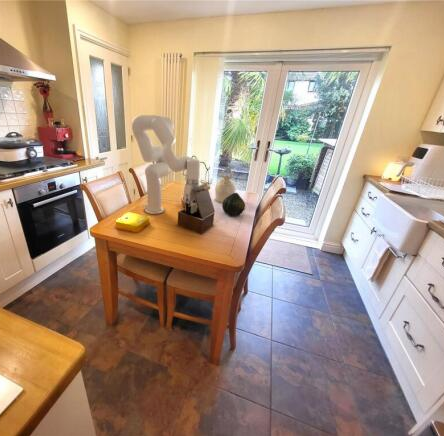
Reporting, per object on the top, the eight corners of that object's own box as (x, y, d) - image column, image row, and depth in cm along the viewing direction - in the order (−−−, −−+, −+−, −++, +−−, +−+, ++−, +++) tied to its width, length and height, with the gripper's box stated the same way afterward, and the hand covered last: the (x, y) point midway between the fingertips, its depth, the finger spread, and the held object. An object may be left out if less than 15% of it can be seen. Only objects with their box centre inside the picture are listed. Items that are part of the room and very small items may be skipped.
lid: (191, 188, 125) (199, 186, 122) (205, 183, 135) (212, 181, 132) (201, 219, 128) (209, 218, 124) (213, 211, 138) (221, 210, 134)
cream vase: (219, 195, 192) (222, 165, 181) (237, 200, 184) (241, 168, 173) (210, 200, 180) (213, 168, 170) (228, 205, 172) (233, 172, 162)
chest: (177, 225, 140) (178, 211, 137) (190, 218, 150) (191, 205, 146) (200, 234, 131) (202, 220, 128) (212, 225, 141) (214, 212, 138)
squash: (226, 212, 147) (242, 193, 146) (214, 204, 160) (229, 187, 159) (239, 223, 155) (253, 205, 154) (226, 215, 167) (240, 199, 167)
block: (185, 211, 139) (185, 203, 137) (189, 209, 143) (190, 201, 140) (192, 213, 136) (192, 205, 134) (196, 211, 140) (197, 203, 138)
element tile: (137, 233, 129) (137, 225, 127) (114, 228, 134) (114, 220, 132) (150, 222, 142) (150, 215, 140) (128, 218, 147) (128, 211, 145)
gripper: (195, 177, 140) (193, 205, 148) (178, 183, 127) (177, 213, 135) (206, 179, 136) (203, 208, 143) (189, 185, 123) (187, 217, 131)
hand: (190, 210), depth 139 cm, fingers closed on block, 5 cm apart
